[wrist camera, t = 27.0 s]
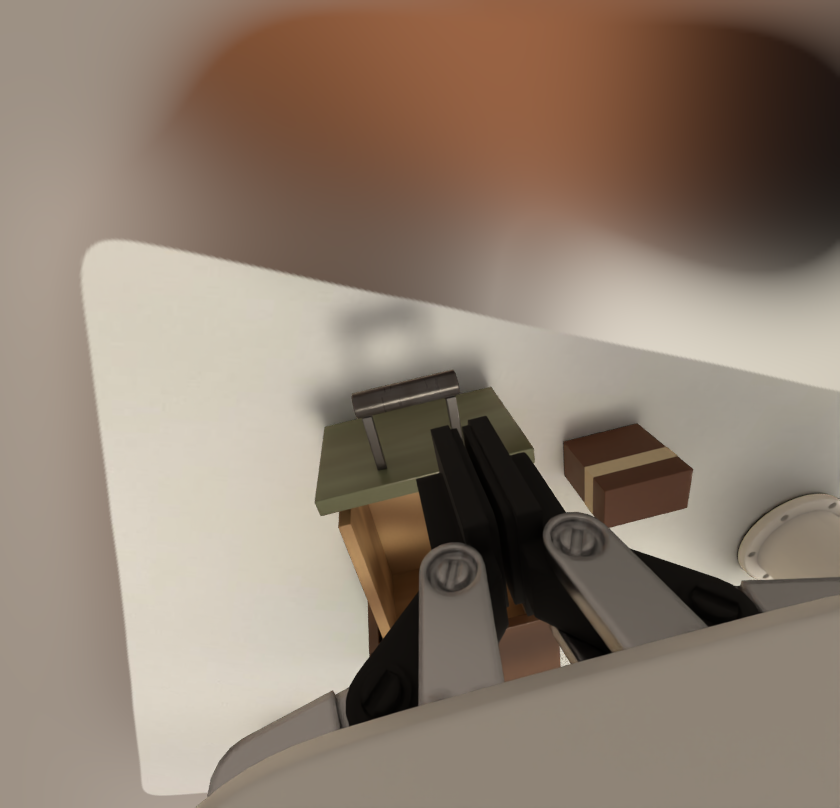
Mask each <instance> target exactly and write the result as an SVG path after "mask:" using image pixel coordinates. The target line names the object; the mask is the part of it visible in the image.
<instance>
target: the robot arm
mask: <svg viewBox="0 0 840 808" xmlns="http://www.w3.org/2000/svg"><path fill="white" fill-rule="evenodd" d="M430 431H431V436H432V441H433V445H434V450H435V454H436V459H437V464H438V468H439V473H438V474H434V475H430V476H426V477H422V478H418V479H416V482H417V487H418V491H419V496H420V500H421V505H422V509H423V514H424V519H425V523H426V528H427V532H428V537H429V541H430V546H431V551H430V552H429V553H428V554H427V555H426V556H425V557H424V559H423V561H422V563H421V565H420V570H419V591H418V592H417V594H416V595H415V596H414V598H413V599H412V600H411V602H410V603H409V605H408V606H407V607H406V609H405V610H404V611H403V613H402V614H401V615H400V617H399V618H398V619H397V621H396V622H395V623H394V625H393V626H392V627H391V629H390V630H389V631H388V633H387V634H386V635H385V637H384V638H383V639H382V641H381V642H380V643H379V645H378V646H377V648H376V649H375V650H374V652H373V653H372V654H371V656H370V657H369V658H368V660H367V661H366V662H365V664H364V665H363V666H362V668H361V669H360V670H359V672H358V673H357V674H356V676H355V678H354V679H353V681H352V683H351V685H350V687H349V688H347V689H345V690H343V691H341V692H340V693H338V694H336V695H335V693H334V692H333V691H331V692H329V693H327V694H325V695H323V696H321V697H319V698H318V699H316V700H314V701H312V702H310V703H308V704H306V705H305V706H303V707H301V708H299V709H297V710H295V711H293V712H291V713H290V714H288V715H286V716H284V717H282V718H280V719H278V720H276V721H275V722H273V723H271V724H269V725H267V726H265V727H263V728H262V729H260V730H258V731H256V732H254V733H252V734H250V735H248V736H247V737H245V738H243V739H241V740H240V741H239V742H237V743H236V744H235V745H233V746H232V747H231V748H230V749H229V750H228V751H227V752H226V754H225V755H224V756H223V757H222V759H221V760H220V761H219V763H218V765H217V767H216V769H215V771H214V773H213V775H212V777H211V780H210V785H209V790H208V795H207V798H206V799H205V800H204V801H202V802H201V803H200V804H199V805H198V806H196V808H840V500H839V499H838V498H836V497H834V496H831V495H828V494H811V495H805V496H802V497H798V498H795V499H793V500H790V501H787V502H786V503H784V504H782V505H780V506H778V507H776V508H775V509H773V510H772V511H770V512H769V513H767V514H766V515H765V516H763V517H762V518H761V519H760V520H759V521H758V522H757V523H756V524H755V525H754V526H753V527H752V528H751V529H750V530H749V531H748V533H747V534H746V535H745V537H744V539H743V541H742V543H741V545H740V548H739V551H738V560H739V564H740V566H741V567H742V569H743V570H745V571H746V572H747V573H748V574H749V575H750V576H751V577H753V578H755V579H759V580H746V581H742V582H741V585H740V586H733V585H732V584H730V583H728V582H725V581H723V580H721V579H719V578H716V577H713V576H710V575H707V574H704V573H701V572H698V571H695V570H692V569H689V568H686V567H683V566H680V565H677V564H674V563H671V562H668V561H665V560H662V559H659V558H656V557H653V556H650V555H647V554H644V553H641V552H638V551H635V550H632V549H630V548H628V547H627V546H626V545H625V544H624V543H623V542H622V541H621V540H620V539H619V538H618V537H617V536H616V535H615V534H614V533H613V532H612V531H611V530H610V529H609V528H608V527H607V526H606V525H605V524H604V523H603V522H601V521H600V520H599V519H597V518H595V517H593V516H591V515H588V514H584V513H579V512H567V513H566V512H565V510H564V509H563V507H562V506H561V504H560V503H559V501H558V500H557V498H556V497H555V495H554V494H553V492H552V491H551V489H550V488H549V486H548V485H547V483H546V482H545V480H544V479H543V477H542V476H541V474H540V473H539V471H538V470H537V468H536V467H535V465H534V464H533V462H532V461H531V459H530V458H529V456H528V455H527V454H526V453H525V452H521V453H517V454H513V455H510V454H509V453H508V451H507V449H506V448H505V446H504V444H503V443H502V441H501V439H500V437H499V436H498V434H497V432H496V431H495V429H494V427H493V426H492V424H491V422H490V421H489V419H488V417H487V416H482V417H478V418H474V419H470V420H468V425H466V426H462V432H463V438H464V443H463V441H462V439H461V436H460V434H459V432H458V429H457V428H454V429H450V427H449V425H446V426H441V427H437V428H433V429H430ZM464 444H465V445H464ZM506 584H507V586H508V589H509V592H510V594H511V597H512V599H513V602H514V604H515V605H517V604H521V603H522V604H523V606H524V609H525V611H526V614H527V616H532V615H534V616H535V618H537V619H539V620H541V621H544V622H546V623H548V624H549V627H550V630H551V632H552V634H553V636H554V638H555V639H556V641H557V643H558V644H559V646H560V647H561V649H562V651H563V652H564V654H565V655H566V657H567V659H568V660H569V662H570V663H571V664H570V665H566V666H563V667H559V668H555V669H552V670H548V671H544V672H541V673H537V674H533V675H530V676H526V677H522V678H519V679H515V680H511V681H508V682H505V680H504V674H503V668H502V662H501V656H500V650H499V642H500V640H501V639H502V637H503V635H504V633H505V631H506V629H507V627H508V625H509V621H508V614H507V607H509V601H508V594H507V587H506Z"/></svg>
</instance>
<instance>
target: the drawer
mask: <svg viewBox="0 0 840 808" xmlns="http://www.w3.org/2000/svg"><path fill="white" fill-rule="evenodd" d="M352 403H353V408H354V411H355V414H356V417H357V418H358V419H355V420H351V421H347V422H342V423H338V424H334V425H330V426H326V427H325V428H324V436H323V443H322V451H321V458H320V466H319V473H318V481H317V489H316V496H315V504H316V506H317V509H318V511H319V514H320V516H324V515H328V514H332V513H336V512H339V525H338V528H339V530H340V533H341V535H342V538H343V540H344V543H345V545H346V548H347V550H348V553H349V555H350V558H351V560H352V563H353V565H354V568H355V570H356V573H357V575H358V578H359V580H360V583H361V585H362V587H363V590H364V592H365V595H366V597H367V600H368V602H369V605H370V607H371V610H372V612H373V615H374V617H375V620H376V622H377V625H378V627H379V630H380V632H381V635H382V637H383V638H384V637H385V635H386V634H387V633H388V631H389V630H390V629H391V627H392V626H393V625H394V623H395V622H396V621H397V619H398V618H399V617H400V615H401V614H402V613H403V611H404V610H405V609H406V607H407V606H408V605H409V603H410V602H411V600H412V599H413V598H414V596H415V595H416V594H417V592H418V591H419V570H420V565H421V563H422V561H423V559H424V557H425V556H426V555H427V554H428V553H429V552H430V551H431V546H430V541H429V537H428V532H427V528H426V523H425V519H424V514H423V509H422V505H421V500H420V496H419V491H418V487H417V482H416V479H418V478H422V477H426V476H430V475H434V474H438V473H439V468H438V464H437V459H436V454H435V450H434V445H433V441H432V436H431V431H430V429H433V428H437V427H441V426H446V425H449V427H450V429H454V428H457V429H458V432H459V434H460V436H461V439H462V441H463V443H464V438H463V432H462V426H466V425H468V420H470V419H474V418H478V417H482V416H487V417H488V419H489V421H490V422H491V424H492V426H493V427H494V429H495V431H496V432H497V434H498V436H499V437H500V439H501V441H502V443H503V444H504V446H505V448H506V449H507V451H508V453H509V454H510V455H513V454H517V453H521V452H525V453H526V454H527V455H528V456H529V458H530V459H531V461H532V462H533V463H535V458H534V448H533V446H532V445H531V443H530V442H529V441H528V439H527V438H526V436H525V435H524V433H523V432H522V431H521V429H520V428H519V426H518V425H517V423H516V422H515V420H514V419H513V418H512V416H511V415H510V413H509V412H508V410H507V409H506V407H505V406H504V405H503V403H502V402H501V400H500V399H499V397H498V396H497V395H496V393H495V392H494V390H493V389H492V387H488V388H484V389H479V390H475V391H471V392H467V393H463V394H459V385H458V380H457V377H456V374H455V371H454V370H448V371H444V372H440V373H436V374H432V375H428V376H423V377H419V378H415V379H411V380H407V381H402V382H398V383H394V384H390V385H386V386H381V387H377V388H373V389H369V390H365V391H361V392H356V393H352ZM464 445H465V444H464ZM506 587H507V594H508V601H509V607H507V614H508V618H511V617H515V616H518V615H522V614H526V611H525V609H524V606H523V604H522V603H521V604H517V605H515V604H514V602H513V599H512V597H511V594H510V592H509V589H508V586H507V584H506Z"/></svg>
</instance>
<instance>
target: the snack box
mask: <svg viewBox="0 0 840 808" xmlns="http://www.w3.org/2000/svg"><path fill="white" fill-rule="evenodd" d="M564 471H565V477H566V478H567V480H568V481H569V482H570V484H571V485H572V486H573V488H574V489H575V490H576V492H577V493H578V495H579V496H580V497H581V499H582V500H583V501H584V503H585V505H586V506H587V508H588V509H589V510H590V512H591V513H592V514H593V515H594V516H595V518H597V519H599V520H600V521H601V522H603V523H604V524H605V525H606V526H607V527H608V528H610V527H614V526H618V525H622V524H626V523H630V522H633V521H637V520H641V519H645V518H649V517H653V516H657V515H661V514H665V513H669V512H673V511H677V510H680V509H684V508H687V505H688V499H689V493H690V486H691V480H692V474H693V469H692V468H691V467H690V466H689V465H687V464H686V463H685V462H684V461H683V460H681V459H680V458H679V457H678V456H677V455H676V454H675V453H674V452H673V451H671V450H670V449H669V448H668V447H666V446H664V445H663V444H662V443H661V442H659V441H658V440H657V439H656V438H655V437H653V436H652V435H651V434H650V433H649V432H647V431H646V430H645V429H644V428H642V427H641V426H640V425H639V424H633V425H629V426H625V427H621V428H617V429H613V430H609V431H605V432H601V433H597V434H593V435H589V436H585V437H581V438H576V439H572V440H568V441H564Z"/></svg>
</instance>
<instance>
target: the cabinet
mask: <svg viewBox="0 0 840 808" xmlns="http://www.w3.org/2000/svg"><path fill="white" fill-rule="evenodd" d="M508 621H509V625H508V627H507V629H506V631H505V633H504V635H503V637H502V639H501V640H500V642H499V650H500V656H501V662H502V668H503V674H504V680H505V682H508V681H511V680H515V679H519V678H522V677H526V676H530V675H533V674H537V673H541V672H544V671H548V670H552V669H555V668H559V667H561V666H560V646H559V644H558V643H557V641H556V639H555V638H554V636H553V634H552V632H551V630H550V627H549V624H548V623H546V622H544V621H541V620H539V619H537V618H535V616H534V615H532V616H527V614H522V615H518V616H515V617H511V618H508ZM368 627H369V654H370V655H369V657H370V656H371V654H372V653H373V652H374V650H375V649H376V648H377V646H378V645H379V643H380V642H381V641H382V639H383V637H382V635H381V632H380V630H379V627H378V625H377V622H376V620H375V617H374V615H373V612H372V610H371V607H370V605H369V602H368Z"/></svg>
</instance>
